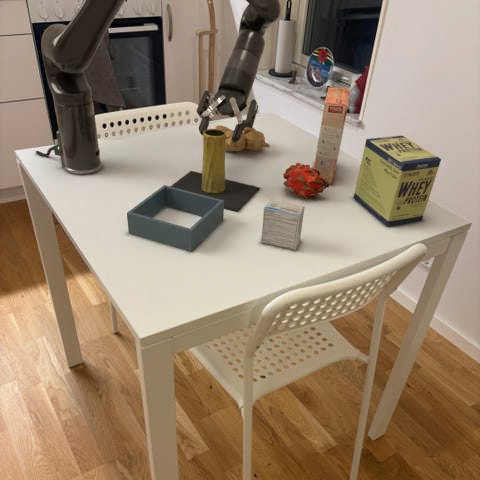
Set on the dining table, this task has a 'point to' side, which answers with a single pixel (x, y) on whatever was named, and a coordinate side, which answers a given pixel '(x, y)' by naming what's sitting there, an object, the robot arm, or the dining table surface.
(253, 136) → the ginger root
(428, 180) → the protein box
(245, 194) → the mat
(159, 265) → the dining table surface
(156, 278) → the dining table surface
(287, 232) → the medicine box
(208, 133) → the vase
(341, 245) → the dining table surface
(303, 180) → the dragon fruit
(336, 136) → the cracker box
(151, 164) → the dining table surface
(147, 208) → the tub
